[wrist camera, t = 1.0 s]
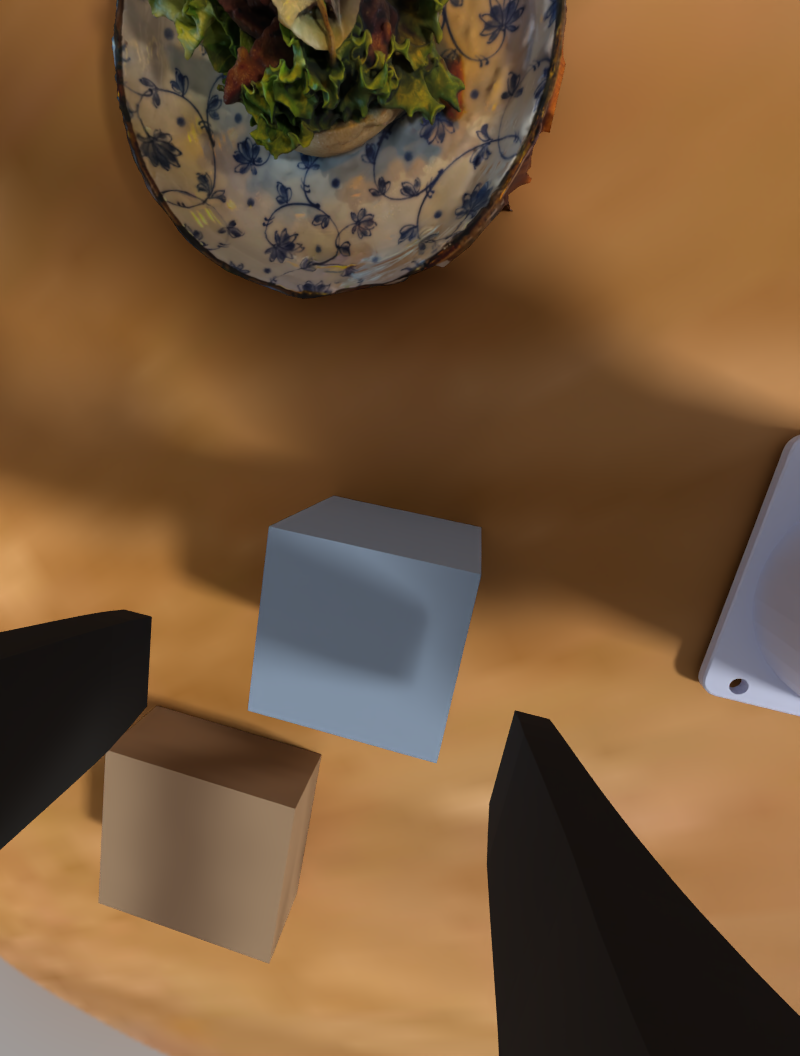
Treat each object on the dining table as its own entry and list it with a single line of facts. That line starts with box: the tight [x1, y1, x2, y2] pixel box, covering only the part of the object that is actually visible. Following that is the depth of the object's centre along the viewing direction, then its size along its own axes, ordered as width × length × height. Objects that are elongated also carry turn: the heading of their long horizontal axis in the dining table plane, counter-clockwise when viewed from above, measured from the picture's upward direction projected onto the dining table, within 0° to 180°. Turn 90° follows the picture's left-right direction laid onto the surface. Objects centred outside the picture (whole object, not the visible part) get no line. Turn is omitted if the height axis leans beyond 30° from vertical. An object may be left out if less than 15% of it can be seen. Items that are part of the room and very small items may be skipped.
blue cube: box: [248, 496, 481, 763], centre depth 14 cm, size 5×5×5 cm
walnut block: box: [99, 706, 321, 963], centre depth 18 cm, size 7×7×3 cm
